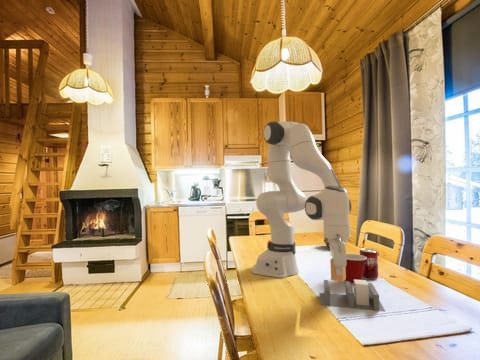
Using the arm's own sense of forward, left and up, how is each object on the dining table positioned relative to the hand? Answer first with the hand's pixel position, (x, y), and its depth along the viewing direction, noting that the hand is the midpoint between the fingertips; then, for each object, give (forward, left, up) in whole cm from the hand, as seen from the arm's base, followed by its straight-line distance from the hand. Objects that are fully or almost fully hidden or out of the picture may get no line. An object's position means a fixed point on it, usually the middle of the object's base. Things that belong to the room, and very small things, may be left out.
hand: (338, 271), depth 92 cm
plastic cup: (+8, +20, -12) cm, 25 cm away
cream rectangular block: (+7, 0, -10) cm, 13 cm away
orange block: (0, 0, -3) cm, 3 cm away
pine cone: (+5, +74, -12) cm, 75 cm away
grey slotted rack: (+4, 0, -12) cm, 12 cm away
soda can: (+16, +30, -12) cm, 36 cm away
